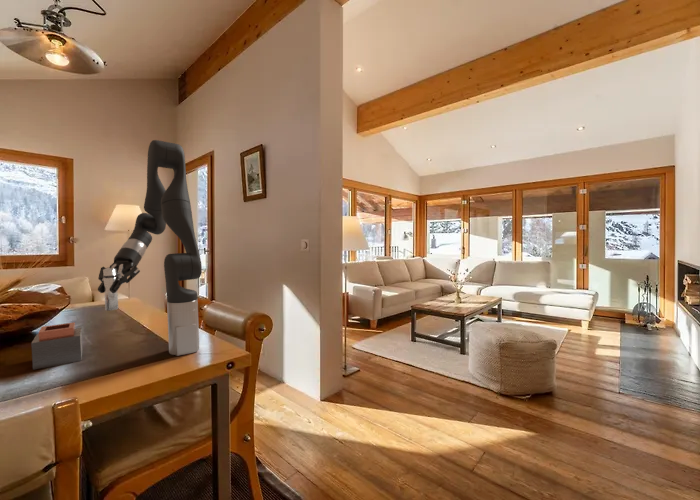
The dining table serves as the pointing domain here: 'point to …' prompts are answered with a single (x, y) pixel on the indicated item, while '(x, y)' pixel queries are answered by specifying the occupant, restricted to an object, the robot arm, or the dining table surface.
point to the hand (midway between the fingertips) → (106, 291)
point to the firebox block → (57, 345)
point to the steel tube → (110, 297)
